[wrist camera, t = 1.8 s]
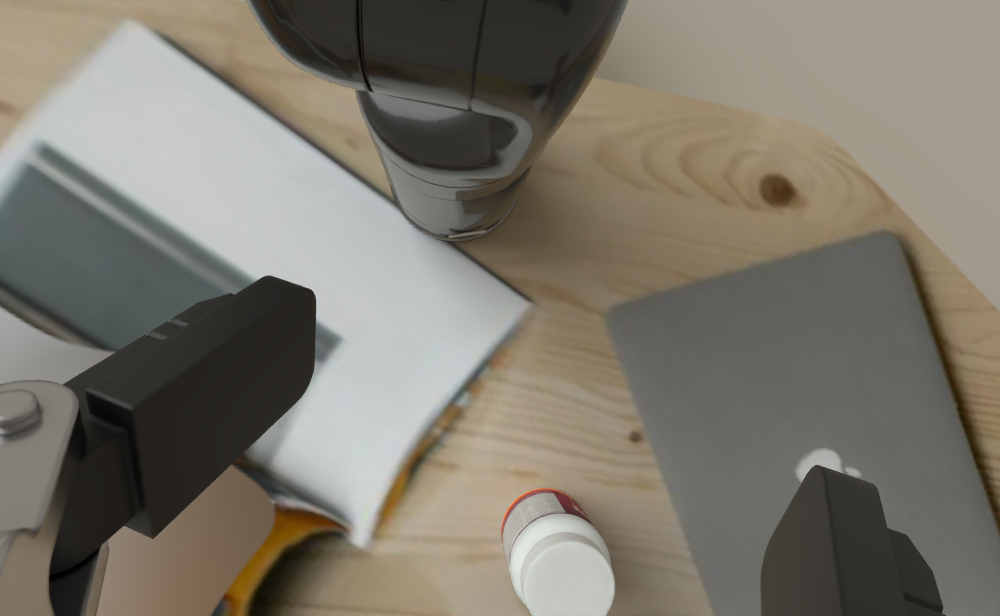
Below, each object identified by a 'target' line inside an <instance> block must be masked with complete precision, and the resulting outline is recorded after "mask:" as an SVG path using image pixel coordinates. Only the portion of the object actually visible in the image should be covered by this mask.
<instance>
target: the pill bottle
mask: <svg viewBox="0 0 1000 616" xmlns="http://www.w3.org/2000/svg"><path fill="white" fill-rule="evenodd" d="M501 537H502V543H503V548H504V552H505V555H506V560H507V564H508V568H509V573H510V577H511V581H512V584H513V587H514V589H515V591H516V593H517V595H518V596H519V598H520V599H521V601H522V602H523V603H524V604H525V605H526V606H527V607H528V609H529V611H530V613H531V614H532V616H606V615H607V613H608V612H609V610H610V608H611V606H612V603H613V600H614V596H615V579H614V574H613V571H612V569H611V561H610V555H609V551H608V548H607V546H606V544H605V542H604V540H603V538H602V536H601V535H600V533H599V532H598V531H597V530H596V528H595V527H594V526H593V525H592V523H591V522H590V521H589V519H588V518H587V516H586V515H585V514H584V512H583V511H582V509H581V508H580V507H579V506H578V504H577V503H576V502H575V501H574V500H573V499H572V498H571V497H570V496H569V495H567V494H566V493H564V492H562V491H560V490H557V489H554V488H548V487H540V488H534V489H531V490H528V491H526V492H524V493H522V494H521V495H519V496H518V497H517V498H516V499H515V500H514V501H513V502H512V503H511V504H510V505H509V507H508V508H507V510H506V512H505V515H504V517H503V521H502V526H501Z"/></svg>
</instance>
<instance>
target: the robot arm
mask: <svg viewBox="0 0 1000 616" xmlns="http://www.w3.org/2000/svg"><path fill="white" fill-rule="evenodd" d="M246 2H247V4H248V6H249V8H250V10H251V12H252V14H253V15H254V17H255V19H256V21H257V22H258V24H259V26H260V27H261V29H262V30H263V32H264V33H265V34H266V36H267V37H268V39H269V40H270V42H271V43H272V44H273V45H274V46H275V47H276V48H277V50H278V51H279V52H280V53H281V54H282V55H283V56H284V57H285V58H286V59H287V60H289V61H290V62H291V63H292V64H294V65H295V66H297V67H298V68H300V69H302V70H304V71H305V72H308V73H310V74H312V75H314V76H316V77H319V78H321V79H324V80H326V81H329V82H331V83H334V84H337V85H340V86H343V87H347V88H352V89H355V92H356V97H357V101H358V104H359V108H360V111H361V113H362V116H363V118H364V121H365V123H366V125H367V128H368V130H369V133H370V135H371V138H372V140H373V143H374V145H375V148H376V150H377V152H378V154H379V157H380V160H381V162H382V165H383V167H384V170H385V172H386V175H387V177H388V180H389V182H390V185H391V190H392V194H393V197H394V199H395V202H396V204H397V206H398V208H399V210H400V211H401V213H402V214H403V215H404V217H405V218H406V219H407V220H408V221H409V222H410V223H411V224H412V225H413V226H414V227H415V228H417V229H418V230H420V231H421V232H423V233H425V234H426V235H428V236H431V237H433V238H436V239H439V240H444V241H451V242H460V241H468V240H473V239H476V238H479V237H481V236H484V235H486V234H488V233H489V232H491V231H492V230H494V229H495V228H496V227H498V226H499V225H500V224H501V223H502V222H503V221H504V220H505V219H506V217H507V216H508V215H509V213H510V212H511V210H512V208H513V206H514V204H515V202H516V200H517V197H518V194H519V191H520V189H521V187H522V185H523V183H524V181H525V179H526V177H527V175H528V173H529V171H530V169H531V167H532V165H533V163H534V162H535V160H536V159H537V158H538V157H539V155H540V154H541V153H542V151H543V150H544V148H545V147H546V145H547V143H548V141H549V140H550V139H551V137H552V136H553V135H554V133H555V132H556V131H557V130H558V128H559V127H560V126H561V124H562V123H563V122H564V121H565V119H566V118H567V117H568V115H569V114H570V113H571V111H572V110H573V108H574V107H575V105H576V104H577V102H578V101H579V99H580V98H581V96H582V94H583V93H584V91H585V90H586V88H587V87H588V85H589V83H590V82H591V80H592V78H593V76H594V75H595V73H596V71H597V69H598V67H599V65H600V63H601V61H602V60H603V58H604V56H605V54H606V52H607V50H608V48H609V46H610V43H611V41H612V39H613V36H614V34H615V32H616V29H617V27H618V25H619V22H620V20H621V17H622V15H623V12H624V10H625V7H626V5H627V2H628V0H246ZM315 328H316V298H315V294H314V292H313V291H312V290H311V289H308V288H305V287H302V286H300V285H297V284H294V283H291V282H288V281H285V280H282V279H279V278H276V277H273V276H264V277H262V278H261V279H259V280H257V281H256V282H254V283H253V284H251V285H249V286H248V287H246V288H245V289H243V290H242V291H240V292H238V293H237V294H235V295H234V294H231V293H230V294H226V295H223V296H220V297H216V298H213V299H210V300H206V301H203V302H199V303H197V304H195V305H194V306H192V307H190V308H189V309H187V310H185V311H184V312H182V313H180V314H179V315H177V316H175V317H174V318H172V321H171V322H170V323H169V322H165V323H164V324H162V325H160V326H159V327H157V328H155V329H154V330H152V331H151V332H150V335H149V336H146V335H144V336H142V337H141V338H139V339H137V340H136V341H134V342H132V343H131V344H129V345H127V346H126V347H124V348H122V349H121V350H119V351H117V352H116V353H114V354H112V355H111V356H109V357H107V358H106V359H104V360H103V361H101V362H99V363H97V364H96V365H94V366H93V367H91V368H89V369H88V370H86V371H84V372H83V373H81V374H79V375H78V376H76V377H74V378H73V379H71V380H69V381H68V382H66V383H65V384H63V385H61V384H59V383H55V382H50V381H44V380H22V381H13V382H8V383H3V384H0V616H96V614H97V609H98V604H99V599H100V595H101V589H102V585H103V580H104V575H105V570H106V565H107V561H108V556H109V545H108V539H109V538H110V537H111V536H112V535H114V534H115V533H116V532H117V531H118V530H119V529H120V528H122V527H123V526H126V527H128V528H130V529H133V530H135V531H137V532H139V533H141V534H144V535H146V536H148V537H150V538H152V539H153V538H155V537H156V536H157V534H159V533H160V532H161V531H162V530H163V529H164V528H165V527H166V526H167V525H168V524H169V523H170V522H171V521H172V520H174V519H175V518H176V517H177V516H178V515H179V514H180V513H181V512H182V511H183V510H184V509H185V508H186V507H187V506H188V505H189V504H190V503H191V502H192V501H193V500H195V498H197V497H198V496H199V495H200V494H201V493H202V492H203V491H204V490H205V489H206V488H207V487H208V486H209V485H210V484H211V483H212V482H213V481H214V480H216V478H218V477H219V476H220V475H221V474H222V473H223V472H224V471H225V470H226V469H227V468H228V467H229V466H230V465H231V464H232V463H233V462H234V461H235V460H237V459H238V458H239V457H240V456H241V455H242V454H243V453H244V452H245V451H246V450H247V449H248V448H249V447H250V446H251V445H252V444H253V443H254V442H255V441H256V440H258V439H259V438H260V437H261V436H262V435H263V434H264V433H265V432H266V431H267V430H268V429H269V428H270V427H271V426H272V425H273V424H274V423H275V422H276V421H277V420H279V419H280V418H281V417H282V416H283V415H284V414H285V413H286V412H287V411H288V410H289V409H290V408H291V407H292V406H293V405H294V404H295V403H296V402H297V401H298V400H299V399H300V398H301V397H302V396H303V394H304V393H305V391H306V389H307V387H308V386H309V383H310V381H311V378H312V375H313V371H314V363H315ZM942 610H943V605H942V601H941V598H940V595H939V591H938V588H937V585H936V581H935V578H934V575H933V571H932V570H931V569H930V567H929V566H928V564H927V563H926V562H925V560H924V559H923V557H922V556H921V554H920V553H919V552H918V550H917V549H916V547H915V546H914V545H913V543H912V542H911V540H910V539H909V537H908V536H907V535H905V534H903V533H900V532H897V531H894V530H891V529H889V528H887V525H886V521H885V517H884V513H883V508H882V504H881V500H880V496H879V492H878V489H877V488H876V486H875V485H874V484H872V483H869V482H866V481H863V480H860V479H857V478H854V477H851V476H848V475H846V474H843V473H840V472H837V471H834V470H831V469H828V468H825V467H822V466H819V465H815V466H814V467H812V468H811V469H810V471H809V472H808V473H807V475H806V476H805V478H804V480H803V482H802V484H801V485H800V487H799V489H798V491H797V492H796V494H795V496H794V498H793V499H792V501H791V503H790V505H789V506H788V508H787V510H786V512H785V513H784V515H783V517H782V519H781V520H780V522H779V524H778V526H777V528H776V529H775V531H774V533H773V535H772V537H771V539H770V541H769V543H768V546H767V549H766V552H765V555H764V559H763V564H762V570H761V616H946V615H943V614H942Z"/></svg>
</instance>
